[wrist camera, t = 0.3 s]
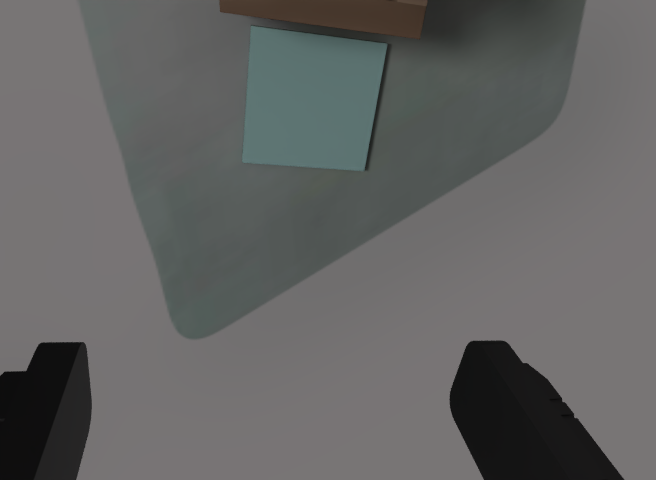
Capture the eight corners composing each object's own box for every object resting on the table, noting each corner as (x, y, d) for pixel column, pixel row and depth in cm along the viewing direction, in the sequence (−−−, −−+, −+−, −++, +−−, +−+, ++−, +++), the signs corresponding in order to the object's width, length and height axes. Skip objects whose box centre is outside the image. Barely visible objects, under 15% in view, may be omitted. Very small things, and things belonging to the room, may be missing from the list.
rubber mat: (251, 25, 32) (251, 25, 32) (385, 43, 34) (387, 43, 34) (242, 160, 36) (242, 162, 36) (362, 169, 38) (364, 171, 38)
